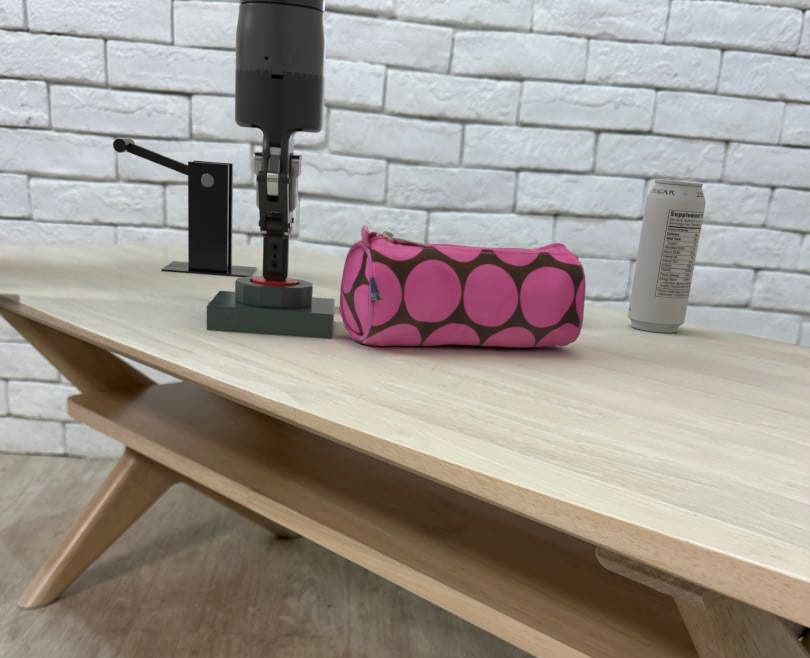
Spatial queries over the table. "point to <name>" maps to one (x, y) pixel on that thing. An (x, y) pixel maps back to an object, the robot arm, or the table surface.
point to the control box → (272, 310)
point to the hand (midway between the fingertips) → (275, 279)
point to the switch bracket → (210, 222)
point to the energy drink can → (666, 255)
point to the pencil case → (460, 294)
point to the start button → (274, 282)
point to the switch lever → (148, 155)
